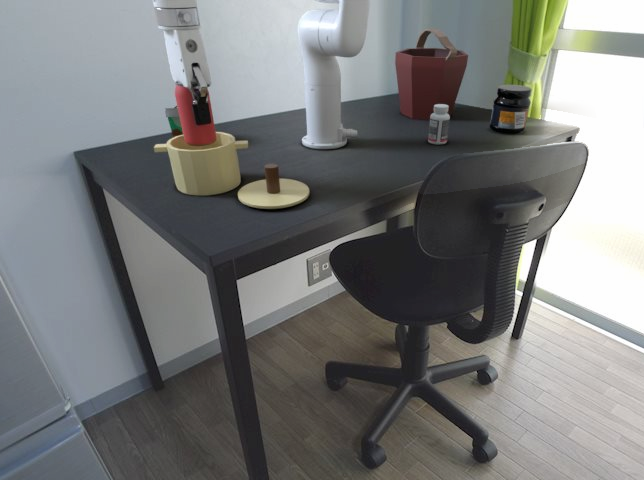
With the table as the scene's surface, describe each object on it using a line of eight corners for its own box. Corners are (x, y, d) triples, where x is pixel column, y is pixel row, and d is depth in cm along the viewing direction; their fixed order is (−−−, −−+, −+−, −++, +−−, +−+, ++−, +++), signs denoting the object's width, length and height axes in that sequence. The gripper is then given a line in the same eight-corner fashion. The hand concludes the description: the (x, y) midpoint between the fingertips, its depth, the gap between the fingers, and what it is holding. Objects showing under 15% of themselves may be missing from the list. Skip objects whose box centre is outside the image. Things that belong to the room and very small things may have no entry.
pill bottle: (444, 139, 129) (449, 103, 124) (448, 145, 125) (453, 107, 119) (426, 139, 129) (429, 103, 123) (429, 145, 125) (433, 108, 119)
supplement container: (522, 136, 132) (532, 92, 125) (486, 132, 135) (494, 89, 128) (525, 127, 140) (534, 85, 133) (491, 124, 143) (498, 83, 136)
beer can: (200, 149, 92) (188, 85, 85) (178, 143, 95) (165, 82, 88) (223, 141, 97) (213, 80, 90) (202, 136, 99) (191, 76, 92)
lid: (240, 185, 100) (235, 155, 96) (306, 181, 102) (305, 152, 98) (236, 213, 88) (231, 181, 84) (312, 209, 90) (310, 177, 86)
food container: (193, 149, 121) (185, 109, 115) (172, 147, 122) (164, 108, 116) (213, 136, 131) (207, 99, 125) (194, 134, 132) (187, 98, 126)
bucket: (463, 123, 143) (476, 33, 128) (394, 123, 143) (400, 32, 128) (450, 105, 163) (461, 25, 148) (390, 105, 163) (394, 25, 148)
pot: (170, 174, 105) (160, 133, 100) (253, 170, 108) (248, 129, 102) (158, 198, 94) (146, 153, 89) (252, 192, 97) (246, 148, 91)
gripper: (215, 21, 79) (231, 127, 89) (182, 15, 90) (199, 109, 101) (173, 23, 75) (194, 133, 86) (144, 17, 86) (166, 114, 97)
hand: (197, 119), depth 93 cm, fingers closed on beer can, 6 cm apart
